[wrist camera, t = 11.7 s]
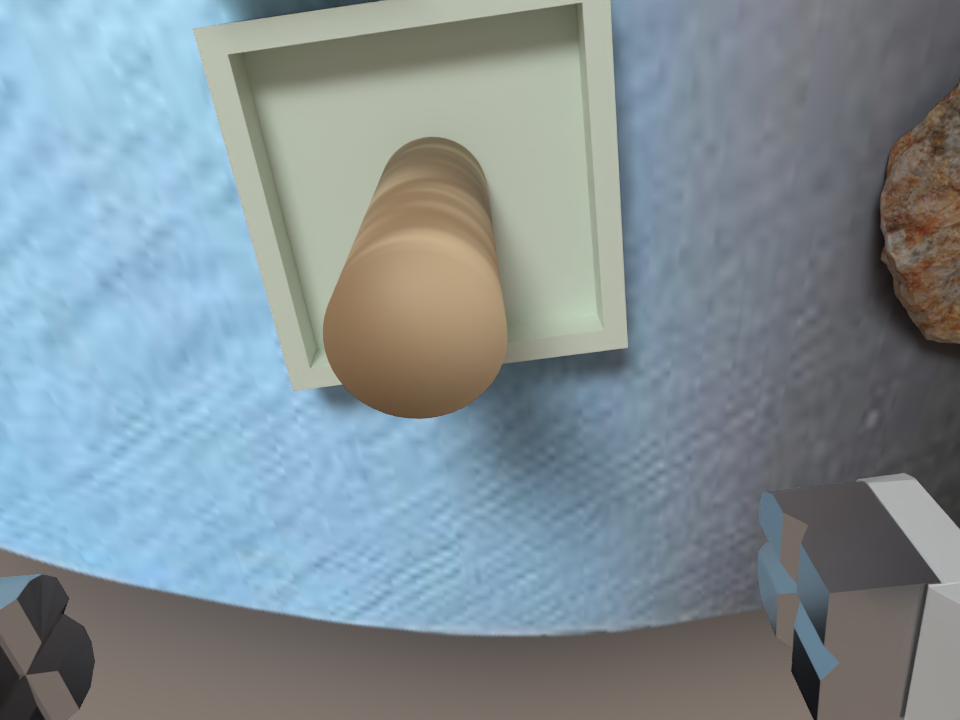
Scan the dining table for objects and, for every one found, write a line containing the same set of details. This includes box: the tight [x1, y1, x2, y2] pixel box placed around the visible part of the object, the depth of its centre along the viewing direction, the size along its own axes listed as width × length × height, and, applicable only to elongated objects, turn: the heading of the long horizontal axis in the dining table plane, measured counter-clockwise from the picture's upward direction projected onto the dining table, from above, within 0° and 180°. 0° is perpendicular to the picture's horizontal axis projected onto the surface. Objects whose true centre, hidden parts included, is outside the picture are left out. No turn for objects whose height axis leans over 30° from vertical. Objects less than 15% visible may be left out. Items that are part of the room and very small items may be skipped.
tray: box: [193, 0, 628, 391], centre depth 25 cm, size 12×12×2 cm
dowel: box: [323, 137, 508, 419], centre depth 20 cm, size 4×4×12 cm
